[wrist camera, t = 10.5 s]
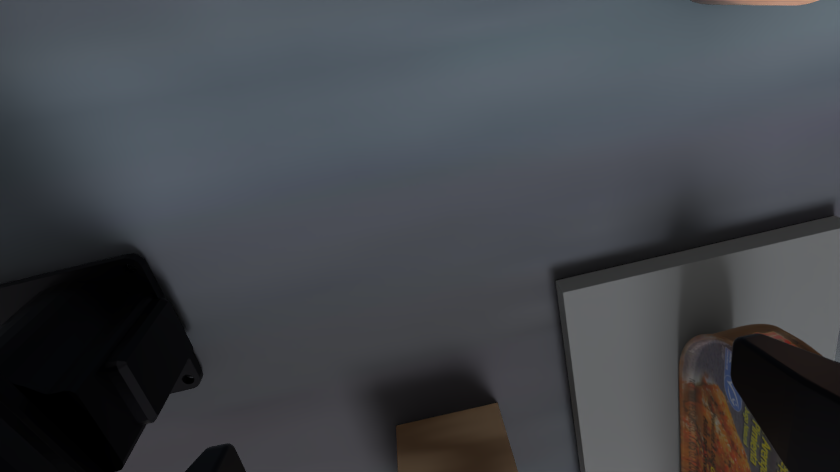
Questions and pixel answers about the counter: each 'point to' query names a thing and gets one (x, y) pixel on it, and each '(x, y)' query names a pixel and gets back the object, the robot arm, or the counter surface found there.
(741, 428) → the tin
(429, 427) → the walnut block
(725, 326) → the mat
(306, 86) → the counter surface
